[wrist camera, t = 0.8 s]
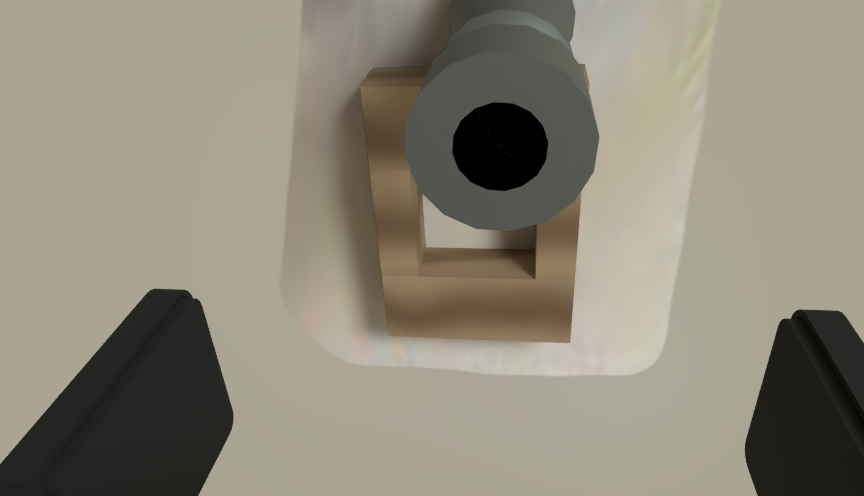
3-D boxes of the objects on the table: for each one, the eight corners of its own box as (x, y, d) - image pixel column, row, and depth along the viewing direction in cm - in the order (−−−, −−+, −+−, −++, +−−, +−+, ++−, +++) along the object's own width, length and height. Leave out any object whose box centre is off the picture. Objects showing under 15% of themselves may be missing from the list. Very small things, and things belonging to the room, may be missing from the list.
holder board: (372, 68, 44) (359, 87, 41) (584, 64, 42) (589, 84, 39) (397, 305, 54) (388, 335, 51) (567, 310, 53) (570, 343, 49)
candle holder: (496, 54, 42) (463, 267, 21) (446, -34, 40) (354, 111, 19) (584, 2, 40) (644, 185, 19) (536, -94, 38) (545, -5, 17)
